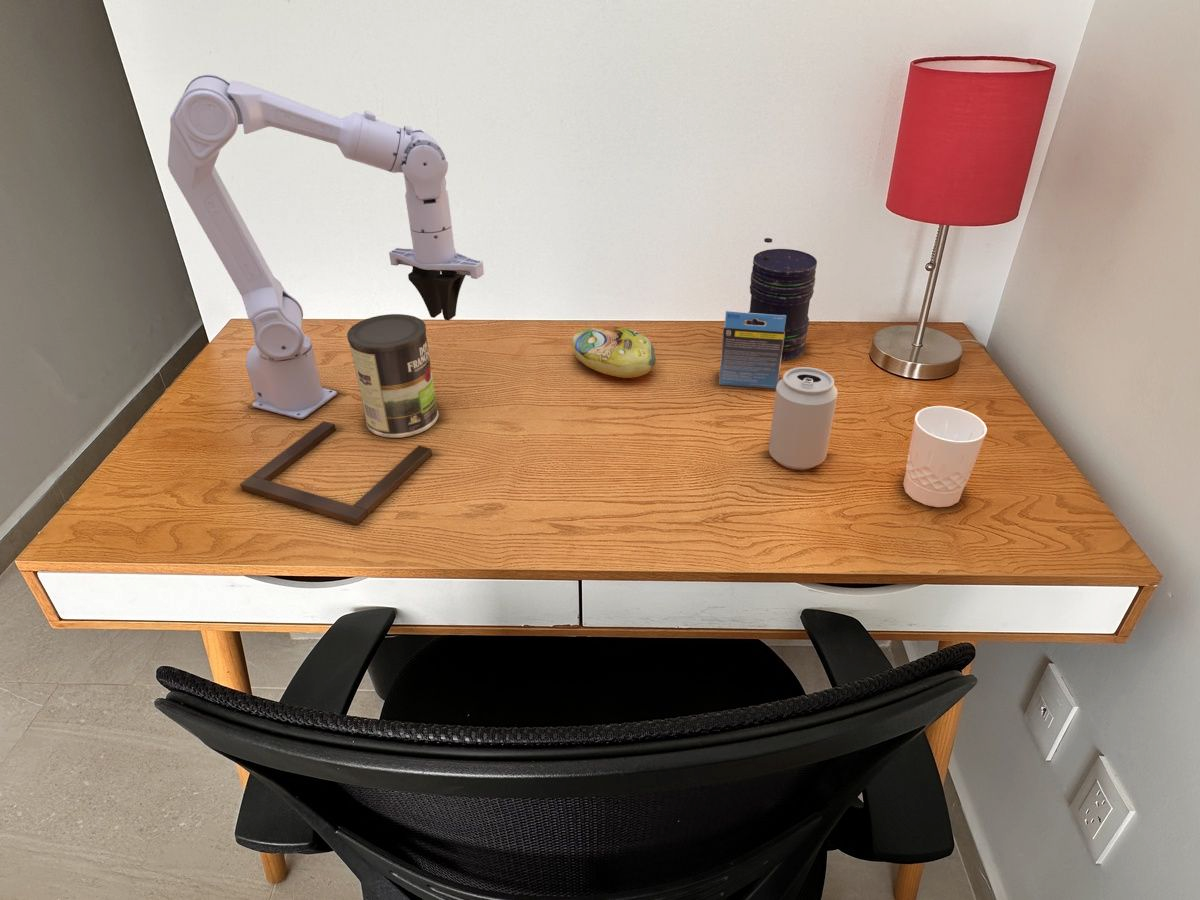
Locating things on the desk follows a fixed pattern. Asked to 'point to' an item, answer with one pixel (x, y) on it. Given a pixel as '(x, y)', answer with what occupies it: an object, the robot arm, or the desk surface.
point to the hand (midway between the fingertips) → (443, 316)
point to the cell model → (614, 351)
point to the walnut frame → (322, 505)
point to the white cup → (942, 454)
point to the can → (802, 418)
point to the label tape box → (751, 350)
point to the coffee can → (394, 374)
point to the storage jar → (784, 293)
